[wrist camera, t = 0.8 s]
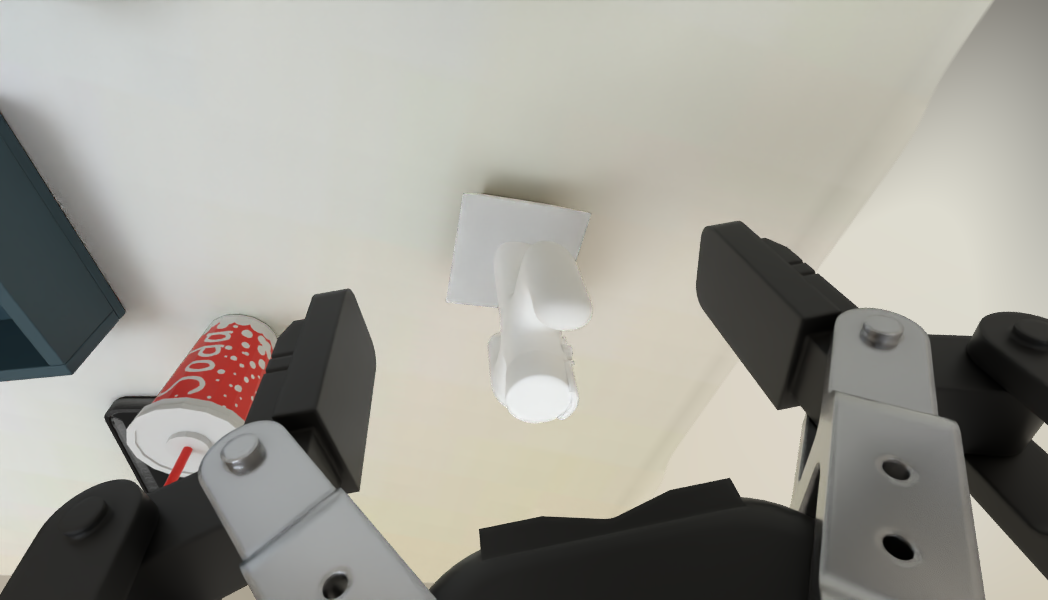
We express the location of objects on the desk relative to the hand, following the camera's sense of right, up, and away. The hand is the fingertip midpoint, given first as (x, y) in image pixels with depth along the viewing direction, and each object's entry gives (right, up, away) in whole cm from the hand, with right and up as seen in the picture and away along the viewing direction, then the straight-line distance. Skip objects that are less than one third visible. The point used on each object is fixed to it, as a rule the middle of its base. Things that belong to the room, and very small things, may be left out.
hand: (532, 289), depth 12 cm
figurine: (-1, +4, +21) cm, 21 cm away
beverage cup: (-20, -3, +24) cm, 31 cm away
